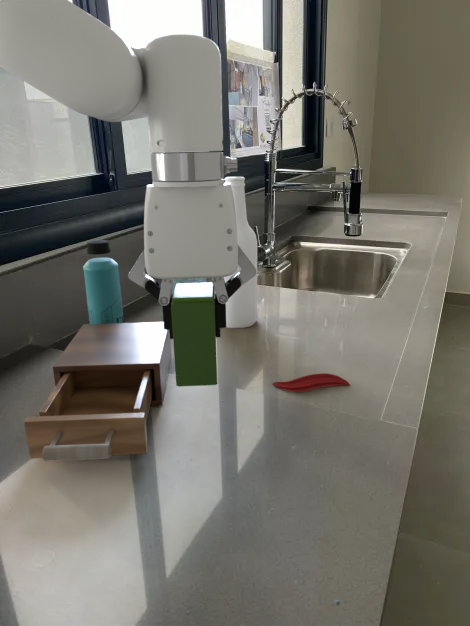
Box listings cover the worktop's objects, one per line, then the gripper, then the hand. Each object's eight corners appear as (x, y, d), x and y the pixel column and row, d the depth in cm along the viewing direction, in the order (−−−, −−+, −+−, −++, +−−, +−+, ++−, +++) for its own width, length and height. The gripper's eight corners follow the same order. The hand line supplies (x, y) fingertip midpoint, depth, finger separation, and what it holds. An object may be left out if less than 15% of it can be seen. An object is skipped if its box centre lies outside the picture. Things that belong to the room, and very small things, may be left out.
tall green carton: (176, 389, 56) (170, 300, 52) (180, 362, 63) (175, 281, 59) (217, 388, 56) (214, 298, 52) (216, 360, 63) (213, 280, 60)
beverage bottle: (122, 351, 92) (112, 243, 85) (86, 351, 92) (74, 244, 85) (130, 338, 98) (121, 237, 91) (96, 338, 98) (85, 237, 92)
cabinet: (162, 406, 72) (159, 363, 69) (58, 410, 71) (52, 366, 69) (171, 357, 88) (169, 321, 86) (87, 360, 88) (83, 324, 86)
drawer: (141, 478, 54) (138, 439, 53) (15, 483, 54) (8, 444, 52) (160, 389, 74) (158, 359, 73) (68, 393, 74) (64, 362, 72)
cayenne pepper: (271, 390, 76) (271, 379, 75) (273, 377, 80) (273, 366, 80) (351, 394, 74) (352, 383, 73) (349, 381, 78) (350, 370, 78)
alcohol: (248, 331, 101) (247, 178, 91) (209, 326, 104) (204, 178, 94) (262, 318, 108) (263, 176, 99) (225, 313, 112) (222, 175, 102)
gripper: (264, 168, 56) (264, 321, 62) (113, 171, 55) (127, 326, 61) (272, 170, 49) (271, 343, 54) (99, 174, 48) (116, 349, 54)
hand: (195, 332), depth 58 cm, fingers closed on tall green carton, 4 cm apart
